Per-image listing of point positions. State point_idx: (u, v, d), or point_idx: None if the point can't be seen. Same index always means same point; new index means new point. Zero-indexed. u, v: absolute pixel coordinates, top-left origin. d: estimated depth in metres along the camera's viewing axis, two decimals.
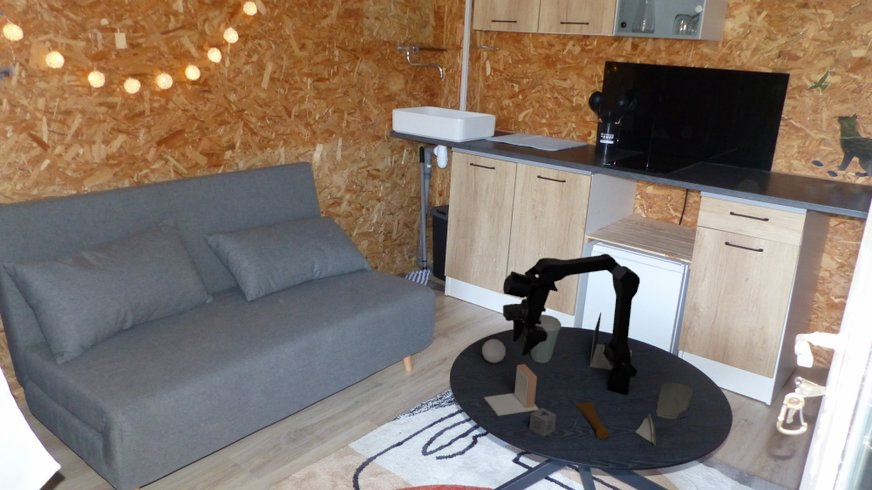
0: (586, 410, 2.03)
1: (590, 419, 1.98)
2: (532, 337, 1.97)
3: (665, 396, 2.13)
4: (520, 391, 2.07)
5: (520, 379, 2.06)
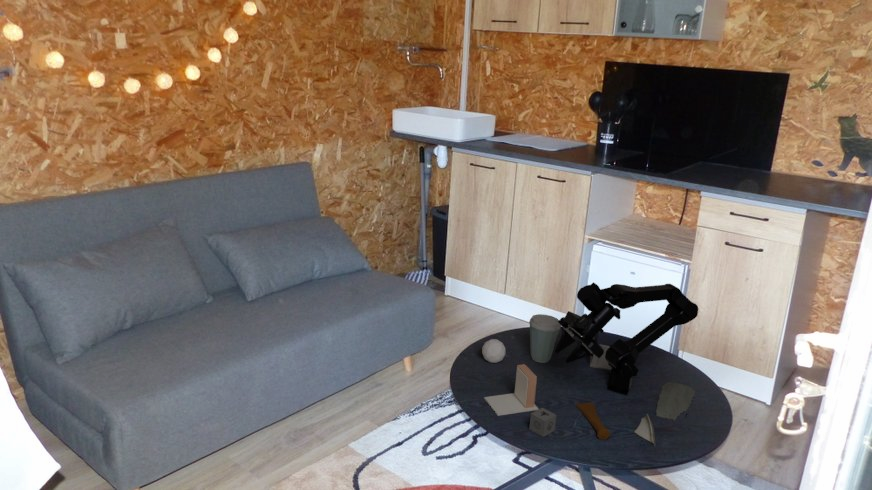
0: (587, 411, 2.03)
1: (591, 420, 1.98)
2: (592, 349, 1.99)
3: (665, 396, 2.13)
4: (520, 391, 2.07)
5: (520, 379, 2.06)
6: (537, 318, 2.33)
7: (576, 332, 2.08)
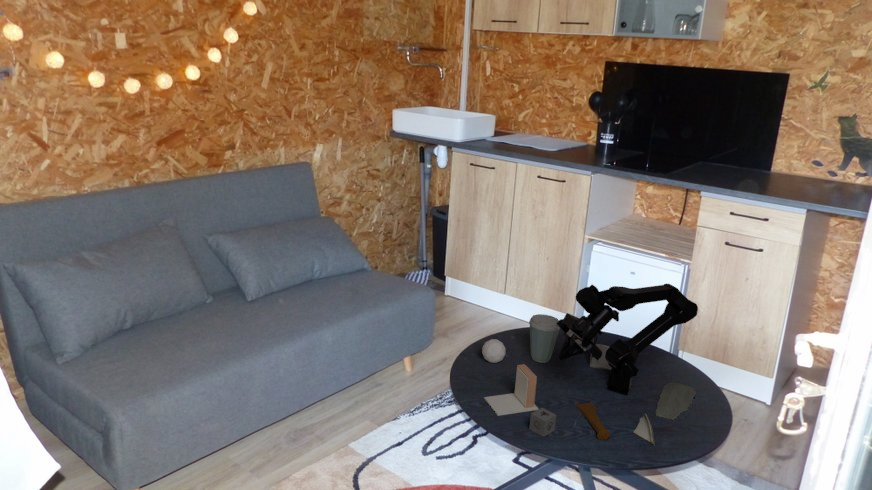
0: (587, 411, 2.03)
1: (591, 420, 1.98)
2: (590, 351, 1.99)
3: (666, 396, 2.13)
4: (520, 391, 2.07)
5: (520, 379, 2.06)
6: (537, 318, 2.33)
7: (574, 334, 2.08)
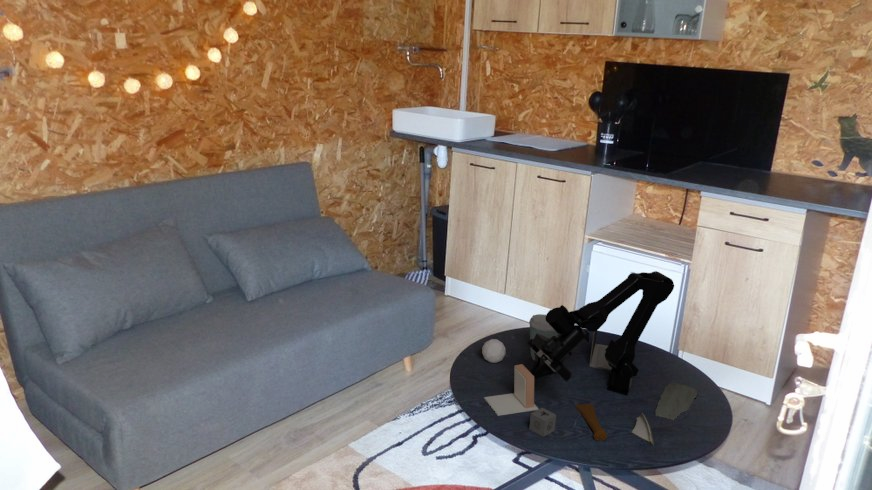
0: (586, 412, 2.02)
1: (589, 421, 1.97)
2: (559, 373, 1.97)
3: (666, 397, 2.13)
4: (519, 391, 2.07)
5: (518, 379, 2.06)
6: (537, 318, 2.33)
7: (544, 354, 2.06)
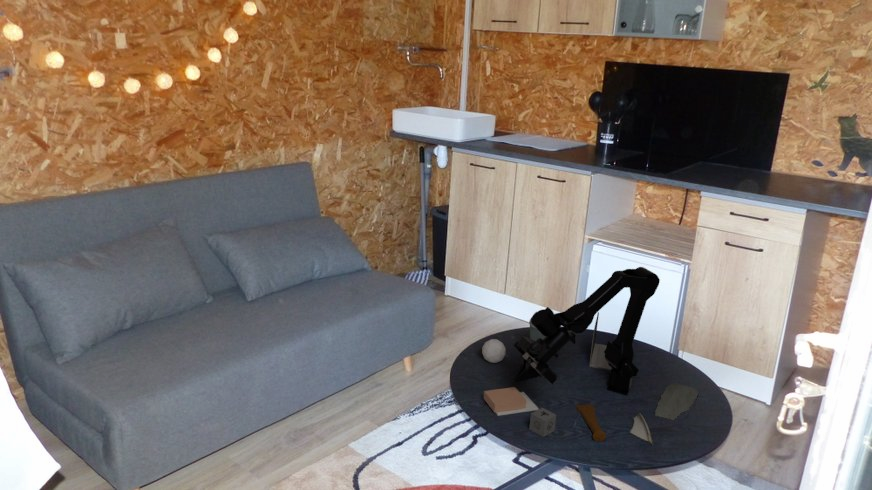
0: (585, 412, 2.02)
1: (588, 421, 1.97)
2: (545, 375, 1.96)
3: (667, 397, 2.13)
4: None
5: None
6: None
7: (530, 357, 2.05)
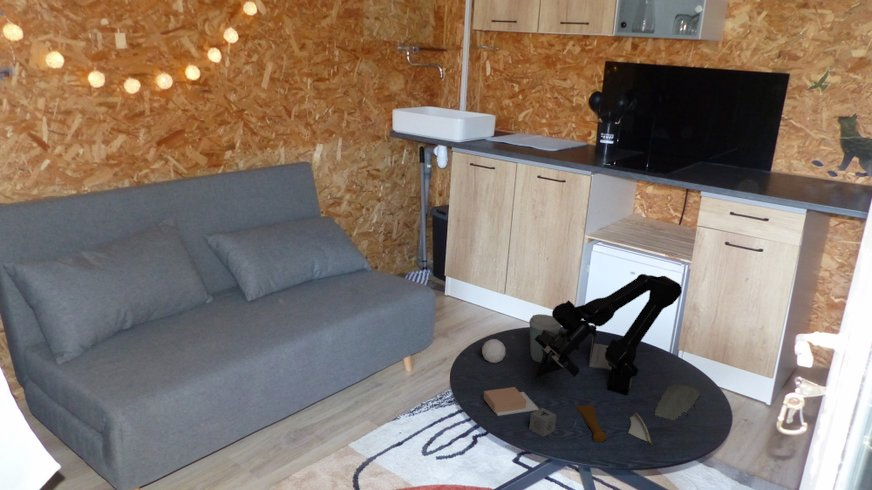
0: (586, 413, 2.02)
1: (589, 422, 1.97)
2: (567, 368, 1.98)
3: (667, 397, 2.12)
4: None
5: None
6: (537, 318, 2.33)
7: (552, 350, 2.07)
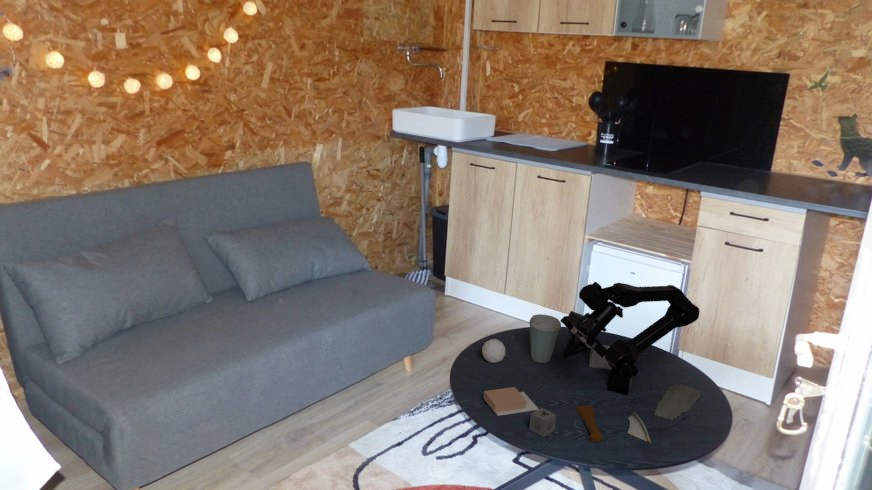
0: (584, 413, 2.02)
1: (586, 422, 1.97)
2: (595, 349, 1.99)
3: (668, 397, 2.12)
4: None
5: None
6: (537, 318, 2.33)
7: (579, 331, 2.08)
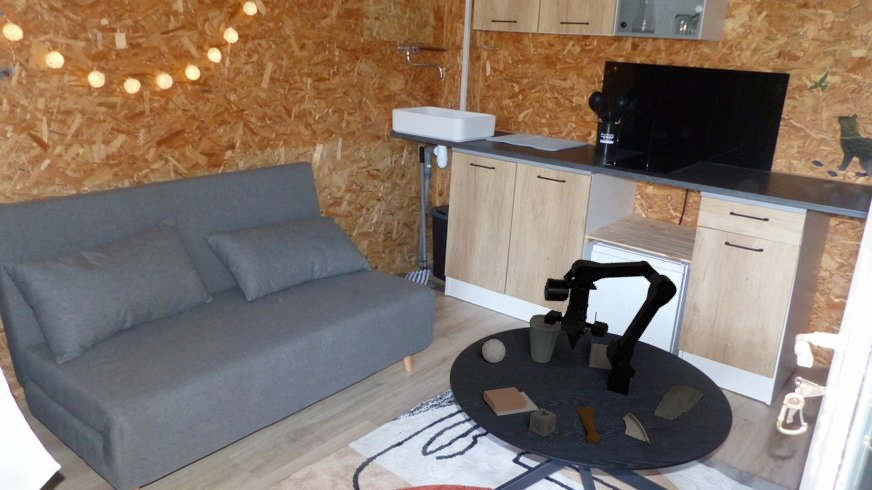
0: (583, 414, 2.01)
1: (584, 423, 1.96)
2: (604, 335, 2.07)
3: (669, 397, 2.12)
4: None
5: None
6: (537, 318, 2.33)
7: None
